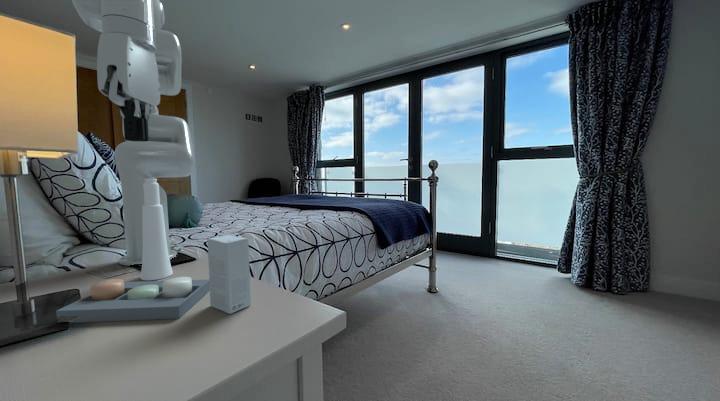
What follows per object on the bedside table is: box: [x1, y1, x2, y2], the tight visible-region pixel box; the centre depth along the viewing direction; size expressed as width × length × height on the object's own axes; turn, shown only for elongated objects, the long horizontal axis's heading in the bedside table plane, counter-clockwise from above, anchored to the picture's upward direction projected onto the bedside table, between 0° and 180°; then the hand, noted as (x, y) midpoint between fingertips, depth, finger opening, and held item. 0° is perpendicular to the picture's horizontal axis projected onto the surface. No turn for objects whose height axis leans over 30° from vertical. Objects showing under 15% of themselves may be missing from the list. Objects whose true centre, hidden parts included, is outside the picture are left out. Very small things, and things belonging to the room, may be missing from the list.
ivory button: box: [162, 276, 193, 299], centre depth 52 cm, size 4×4×2 cm
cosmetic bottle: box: [139, 178, 174, 281], centre depth 65 cm, size 6×6×22 cm
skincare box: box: [207, 234, 252, 315], centre depth 51 cm, size 6×4×12 cm
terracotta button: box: [89, 278, 125, 301], centre depth 51 cm, size 4×4×2 cm
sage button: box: [127, 285, 159, 300], centre depth 52 cm, size 4×4×2 cm
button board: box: [55, 279, 210, 324], centre depth 52 cm, size 12×18×2 cm, turn 95°
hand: (137, 140), depth 54 cm, fingers closed
